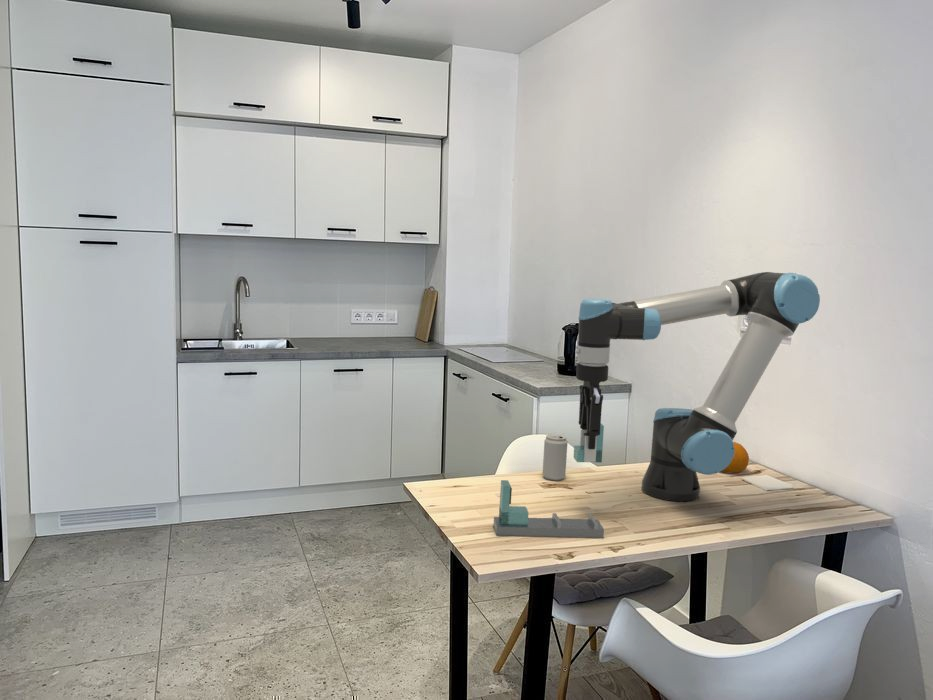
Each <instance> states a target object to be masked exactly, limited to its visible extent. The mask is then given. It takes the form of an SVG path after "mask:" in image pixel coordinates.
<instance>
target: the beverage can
mask: <svg viewBox="0 0 933 700" xmlns="http://www.w3.org/2000/svg"><path fill="white" fill-rule="evenodd" d="M568 442H569V441H568V440H567V436H565V435H563V434H555V433H553V434H552V433H551V434H546V436H545V439H544V445H543V460H542V461H543V463H542V476H543V477H544V479H546V480H549V481H554V482H555V481H556V482H557V481H562V480H563V479H564V478H566V471H567V457H568V456H567V454H568Z"/></svg>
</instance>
